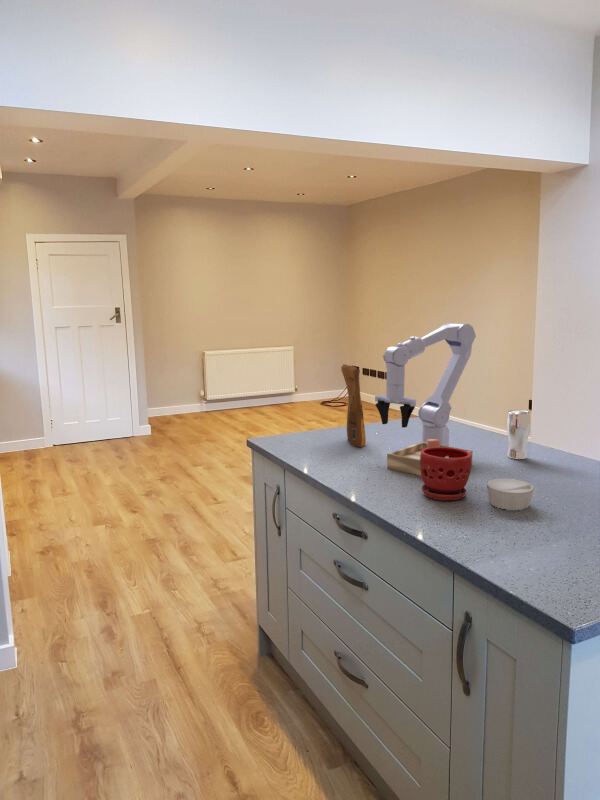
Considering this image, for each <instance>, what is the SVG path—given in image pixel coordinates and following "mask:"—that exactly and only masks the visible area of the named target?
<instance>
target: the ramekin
mask: <svg viewBox="0 0 600 800" xmlns="http://www.w3.org/2000/svg"><path fill="white" fill-rule="evenodd" d="M486 488H487V493H488V500H489V503H490V505H491V506H492V507H494V506H495V507H494V508H496V507H497V508H496V509H499V508H501V509H500V510H502V509H506V510H505V511H509V510H520V511H523V510H522V509H524V510H526V509H527V508H529V506H530V504H531V501H532V496H533V493H534V486H533V485H532V484H531V483H529V482H527V481H524V480H521V479H520V480H519V479H512V478H495V479H491V480H488V482H487V483H486ZM525 508H526V509H525Z"/></svg>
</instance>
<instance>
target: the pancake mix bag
mask: <svg viewBox="0 0 600 800" xmlns="http://www.w3.org/2000/svg"><path fill="white" fill-rule="evenodd" d="M340 367H341V373H342V376H343V378H344V382H345V385H346V389H347V396H348V405H347V412H346V413H347V414H346V415H347V416H346V437H347V440H348V441H350V442H349V443H350V444H351V445H353V446H352V447H356V446H357V447H356V448H362V447H364V446H366V441H367V440H366V438H367V436H366V428H365V418H364V411H363V403H362V398H361V389H360V388H361V385H360V384H361V383H360V373H361V372H360V369H359V368H357V366H354V365H353V366H352V365H347V364H345V363H343V364H342V365H341V366H340Z"/></svg>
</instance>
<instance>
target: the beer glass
mask: <svg viewBox="0 0 600 800" xmlns="http://www.w3.org/2000/svg"><path fill="white" fill-rule="evenodd" d="M507 414H508V415H507V422H506V430H507V431H506V432H507V439H508V451H507V455H506V457H507V456H508V457H510V458H518V459H522V458H526V457H527V458H528V455H527V454H528V453H527V445H528V441H529V440H528V439H529V435H530V431H531V412H530V411H527V410H520V409H513V410H511V409H510V410H508V413H507ZM508 457H507V458H508ZM510 458H509V459H510Z"/></svg>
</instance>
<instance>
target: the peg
mask: <svg viewBox="0 0 600 800" xmlns="http://www.w3.org/2000/svg"><path fill="white" fill-rule="evenodd" d="M433 447H440V440H438V439H427V448H433Z"/></svg>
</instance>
